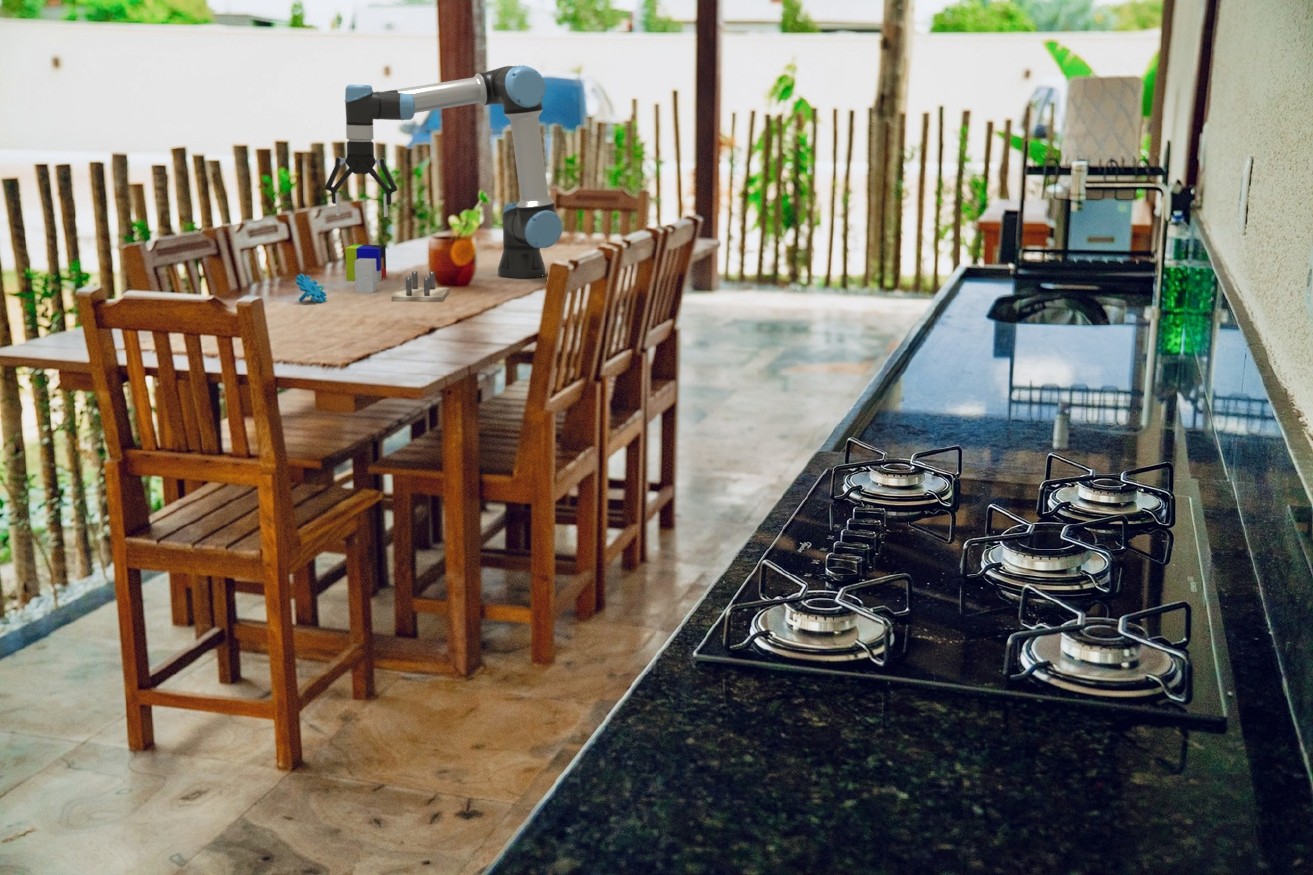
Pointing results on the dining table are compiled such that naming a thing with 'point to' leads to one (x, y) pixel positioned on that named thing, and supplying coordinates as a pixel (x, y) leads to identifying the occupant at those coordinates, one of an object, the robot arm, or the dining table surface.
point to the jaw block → (365, 275)
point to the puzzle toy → (368, 253)
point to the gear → (310, 289)
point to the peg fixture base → (420, 290)
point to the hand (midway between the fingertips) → (362, 216)
